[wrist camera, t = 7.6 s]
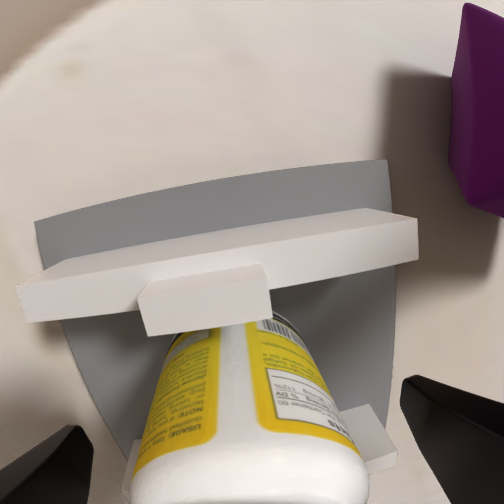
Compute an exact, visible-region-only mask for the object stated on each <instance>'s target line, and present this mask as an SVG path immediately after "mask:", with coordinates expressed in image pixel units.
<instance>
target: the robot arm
mask: <svg viewBox="0 0 504 504" xmlns="http://www.w3.org/2000/svg"><path fill="white" fill-rule="evenodd" d="M400 407H401V409H402V412H403V414H404V416H405V418H406V420H407V423H408V425H409V427H410V429H411V432H412V434H413V436H414V438H415V441H416V443H417V445H418V447H419V449H420V451H421V453H422V455H423V456H424V458H425V460H426V461H427V463H428V465H429V466H430V468H431V470H432V471H433V473H434V475H435V476H436V478H437V480H438V482H439V483H440V485H441V487H442V488H443V490H444V492H445V494H446V495H447V497H448V499H449V501H450V502H451V504H504V403H501V402H497V401H494V400H491V399H488V398H485V397H482V396H479V395H475V394H472V393H469V392H466V391H463V390H460V389H457V388H454V387H451V386H449V385H446V384H443V383H440V382H437V381H434V380H431V379H429V378H426V377H423V376H420V375H413V376H410V377H408V378H405V379H404V380H403V382H402V389H401V396H400ZM93 454H94V449H93V445H92V443H91V442H90V440H89V438H88V437H87V435H86V433H85V432H84V430H83V428H82V427H81V426H79V425H66V426H65V427H63V428H62V429H60V430H59V431H58V432H56V433H55V434H53V435H52V436H50V437H49V438H47V439H46V440H45V441H43V442H42V443H40V444H39V445H37V446H36V447H34V448H33V449H31V450H30V451H28V452H27V453H25V454H24V455H22V456H21V457H19V458H18V459H16V460H15V461H13V462H12V463H10V464H9V465H7V466H6V467H4V468H3V469H1V470H0V504H87V501H88V496H89V489H90V480H91V470H92V462H93Z"/></svg>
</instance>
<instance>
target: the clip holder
mask: <svg viewBox="0 0 504 504" xmlns="http://www.w3.org/2000/svg"><path fill="white" fill-rule="evenodd" d="M34 224H35V229H36V234H37V239H38V243H39V248H40V252H41V256H42V260H43V264H44V268H45V270H44V271H42V272H41V273H39V274H37V275H35V276H33V277H31V278H30V279H28V280H26V281H24V282H22V283H21V284H19V285H17V286H15V288H16V291H17V294H18V298H19V301H20V304H21V307H22V310H23V313H24V316H25V319H26V321H27V323H31V322H42V321H51V320H60V321H61V324H62V326H63V329H64V332H65V335H66V337H67V340H68V343H69V345H70V348H71V350H72V353H73V355H74V358H75V360H76V363H77V365H78V367H79V370H80V372H81V374H82V376H83V379H84V381H85V383H86V385H87V387H88V389H89V392H90V394H91V396H92V398H93V400H94V402H95V404H96V406H97V408H98V410H99V412H100V414H101V415H102V417H103V419H104V421H105V423H106V425H107V427H108V428H109V430H110V432H111V434H112V436H113V437H114V439H115V441H116V443H117V444H118V446H119V448H120V449H121V451H122V453H123V454H124V456H125V457H126V459H127V461H128V463H127V466H126V470H125V473H124V477H123V480H122V484H121V487H120V492H121V493H122V494H123V496H124V497H125V498H126V499H127V500H128V502H129V503H130V504H131V502H130V486H131V480H132V476H133V472H134V468H135V464H136V461H137V457H138V452H139V448H140V445H141V441H142V437H143V433H144V430H145V426H146V423H147V419H148V416H149V412H150V408H151V405H152V401H153V398H154V395H155V391H156V388H157V384H158V381H159V378H160V374H161V371H162V368H163V364H164V361H165V359H166V355H167V351H168V349H169V346H170V344H171V341H172V339H173V337H174V336H175V334H176V333H181V332H188V331H195V330H202V329H209V328H216V327H222V326H229V325H235V324H241V323H247V322H253V321H259V320H264V319H270V318H273V315H272V310H273V311H275V312H276V313H278V314H280V315H281V316H283V317H284V318H286V319H287V320H288V321H289V322H290V323H291V324H292V325H293V326H294V327H295V328H296V329H297V331H298V332H299V334H300V335H301V337H302V339H303V340H304V342H305V344H306V346H307V349H308V351H309V353H310V355H311V357H312V359H313V360H314V362H315V365H316V366H317V368H318V370H319V372H320V374H321V376H322V378H323V380H324V382H325V384H326V386H327V388H328V390H329V392H330V394H331V396H332V398H333V400H334V402H335V404H336V406H337V408H338V410H339V413H340V415H341V417H342V419H343V421H344V423H345V425H346V427H347V429H348V431H349V433H350V435H351V437H352V439H353V441H354V443H355V445H356V447H357V449H358V451H359V453H360V455H361V457H362V459H363V461H364V463H365V466H366V469H367V472H368V475H370V474H373V473H376V472H379V471H381V470H384V469H387V468H390V467H392V466H394V464H395V460H396V456H397V452H398V450H397V448H396V447H395V445H394V443H393V442H392V440H391V439H390V437H389V435H388V434H387V432H386V431H385V427H386V421H387V414H388V406H389V398H390V389H391V380H392V369H393V356H394V340H395V314H396V266H395V265H396V264H401V263H405V262H410V261H414V260H419V248H418V223H417V218H413V217H408V216H403V215H399V214H394V213H393V211H392V200H391V190H390V181H389V172H388V164H387V159H384V160H370V161H358V162H347V163H336V164H326V165H317V166H308V167H300V168H292V169H284V170H277V171H269V172H262V173H255V174H249V175H242V176H236V177H230V178H224V179H218V180H212V181H206V182H201V183H195V184H190V185H184V186H179V187H174V188H169V189H164V190H159V191H154V192H150V193H145V194H140V195H136V196H131V197H127V198H123V199H118V200H114V201H110V202H106V203H102V204H98V205H94V206H90V207H86V208H82V209H78V210H74V211H70V212H67V213H63V214H59V215H56V216H52V217H49V218H45V219H42V220H38V221H35V222H34Z"/></svg>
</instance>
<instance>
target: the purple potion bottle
mask: <svg viewBox="0 0 504 504" xmlns="http://www.w3.org/2000/svg"><path fill="white" fill-rule="evenodd" d="M448 163H449V166H450V168H451V170H452V172H453V174H454V176H455V178H456V181H457V183H458V185H459V187H460V189H461V191H462V194H463V196H464V198H465V200H466V202H467V203H468V204H469V205H471V206H473V207H476V208H478V209H481V210H484V211H487V212H489V213H492V214H495V215H497V216H500V217H502V218H504V18H503V17H501V16H499V15H497V14H494V13H492V12H490V11H488V10H486V9H483V8H481V7H479V6H476V5H474V4H471V3H465V4H464V6H463V9H462V18H461V25H460V33H459V39H458V46H457V51H456V57H455V62H454V68H453V73H452V77H451V126H450V142H449V155H448Z"/></svg>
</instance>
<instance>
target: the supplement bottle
mask: <svg viewBox="0 0 504 504" xmlns="http://www.w3.org/2000/svg"><path fill="white" fill-rule="evenodd" d="M272 315H273V318H270V319H264V320H259V321H253V322H247V323H241V324H235V325H229V326H222V327H216V328H209V329H202V330H195V331H188V332H181V333H176V334H175V336H174V337H173V339H172V341H171V344H170V346H169V349H168V351H167V355H166V359H165V361H164V364H163V368H162V371H161V374H160V378H159V381H158V384H157V388H156V391H155V395H154V398H153V401H152V405H151V408H150V412H149V416H148V419H147V423H146V426H145V430H144V433H143V437H142V441H141V445H140V448H139V452H138V457H137V461H136V464H135V468H134V472H133V476H132V480H131V486H130V502H131V504H366V503H367V500H368V497H369V491H370V481H369V475H368V472H367V469H366V466H365V463H364V461H363V459H362V457H361V455H360V453H359V451H358V449H357V447H356V445H355V443H354V441H353V439H352V437H351V435H350V433H349V431H348V429H347V427H346V425H345V423H344V421H343V419H342V417H341V415H340V413H339V410H338V408H337V406H336V404H335V402H334V400H333V398H332V396H331V394H330V392H329V390H328V388H327V386H326V384H325V382H324V380H323V378H322V376H321V374H320V372H319V370H318V368H317V366H316V365H315V362H314V360H313V359H312V357H311V355H310V353H309V351H308V349H307V346H306V344H305V342H304V340H303V339H302V337H301V335H300V334H299V332H298V331H297V329H296V328H295V327H294V326H293V325H292V324H291V323H290V322H289V321H288V320H287V319H286V318H284V317H283V316H281V315H280V314H278V313H276V312H275V311H273V310H272Z"/></svg>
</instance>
